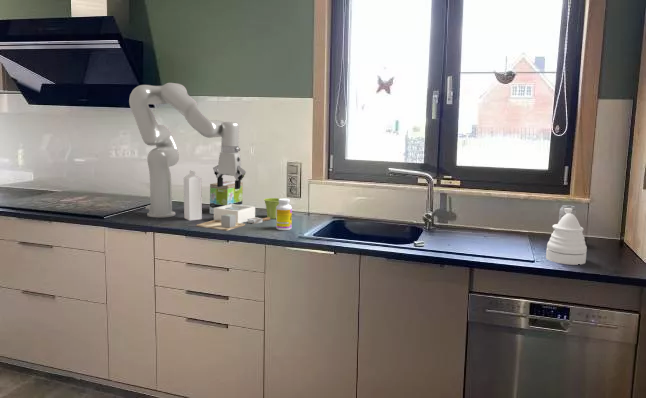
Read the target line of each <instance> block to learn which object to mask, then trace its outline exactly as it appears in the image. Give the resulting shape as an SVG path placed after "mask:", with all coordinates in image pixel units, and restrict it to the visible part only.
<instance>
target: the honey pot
mask: <svg viewBox="0 0 646 398" xmlns="http://www.w3.org/2000/svg"><path fill="white" fill-rule="evenodd" d="M564 210H565V213H566V215H564V216H563V217H562V218H561V219H560V221H559V220H558V223H555V224H552V228H553V232H552V233H551V235H550V237H549V240H548V241H547V244H546V251H545V252H546V254H545V259H546V260H547V261H551V262H552V263H558V264H562V265H570V266H571V265H572V266H575V265H577V266H579V265H578V264H580V265H584V264H586V260H587V251H588V249H587V248H588V247H587V244H586V241H585V238H586V237H585V236H584V233H583V231H584V227H583V226H581V224H580V222H579V219H578V218H577V216H576V217H575V216H574V215H573V214H571V212H572V209H571V208H564Z"/></svg>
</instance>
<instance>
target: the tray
mask: <svg viewBox="0 0 646 398" xmlns="http://www.w3.org/2000/svg"><path fill="white" fill-rule="evenodd" d="M243 226H246V223H244V222H243V223H236V226H234V227H230V228H225V227H221V220H214V219H213V220H210V221H206V222H201V223H197V224H196V225H195V227H198V228H206V229H213V230H218V231H219V230H220V231H231V230H234V229H237V228H242V227H243Z"/></svg>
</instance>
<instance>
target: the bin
mask: <svg viewBox="0 0 646 398" xmlns="http://www.w3.org/2000/svg"><path fill="white" fill-rule="evenodd" d="M228 207H238V211H237V210H229V209H225V208H228ZM225 214H232V215H236V223H243V224H244V223H246V222H247V219H249V218H255V217H256V206H251V205H243V204H242V205H235V204H230V205H225V206H221V207H216V208H214V214H213V220H221V215H225Z"/></svg>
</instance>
